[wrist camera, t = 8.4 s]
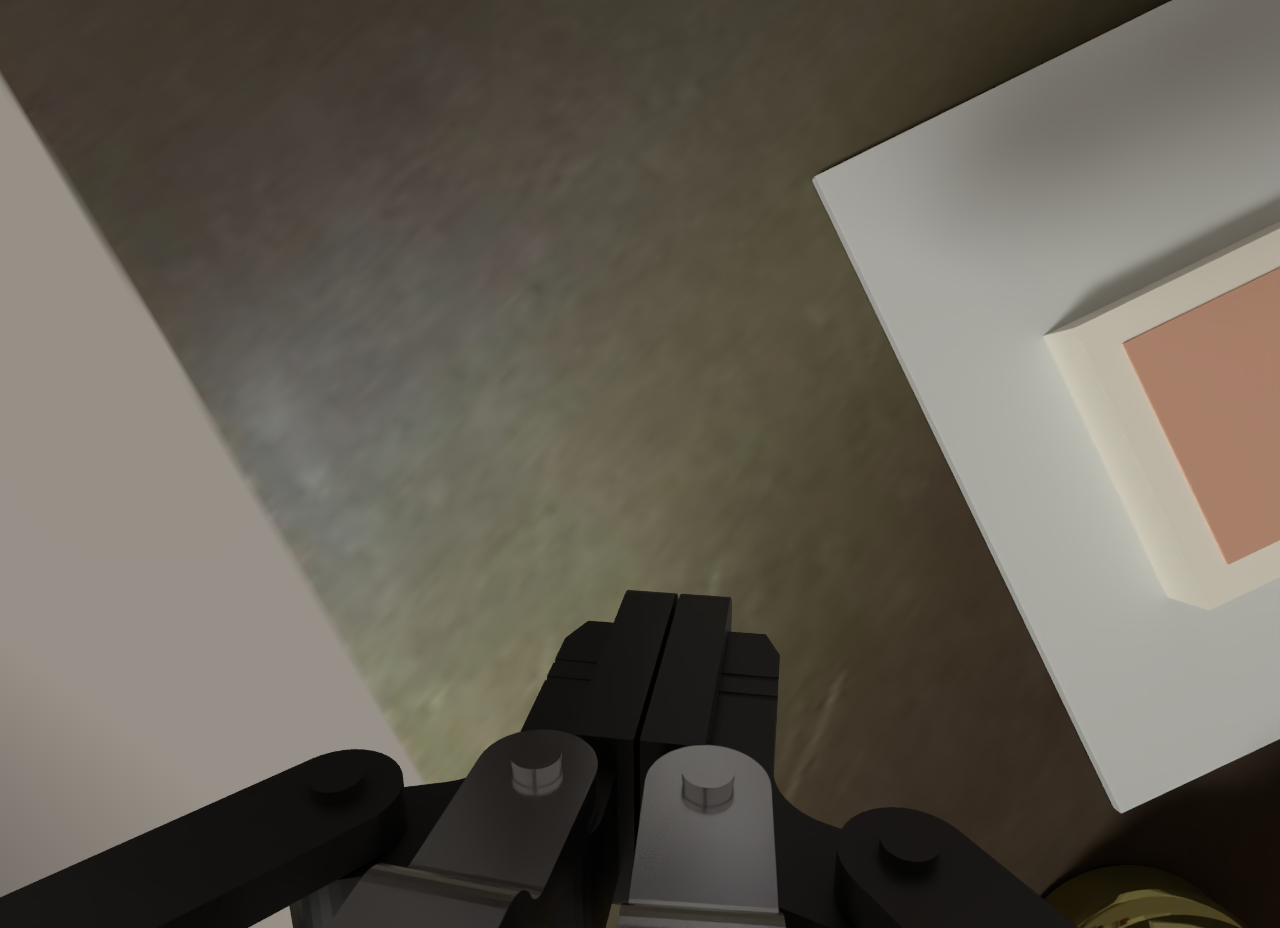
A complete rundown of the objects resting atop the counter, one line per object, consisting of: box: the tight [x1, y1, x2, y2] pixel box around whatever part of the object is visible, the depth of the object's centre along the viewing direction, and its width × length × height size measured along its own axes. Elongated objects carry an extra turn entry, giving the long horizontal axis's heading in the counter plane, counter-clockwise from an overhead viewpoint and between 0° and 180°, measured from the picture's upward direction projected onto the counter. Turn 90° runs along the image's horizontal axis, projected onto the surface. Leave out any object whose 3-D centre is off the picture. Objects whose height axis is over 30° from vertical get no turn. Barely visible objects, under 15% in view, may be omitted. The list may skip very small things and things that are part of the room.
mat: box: [812, 0, 1280, 813], centre depth 29 cm, size 22×15×1 cm
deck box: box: [1043, 221, 1280, 610], centre depth 28 cm, size 9×2×8 cm
